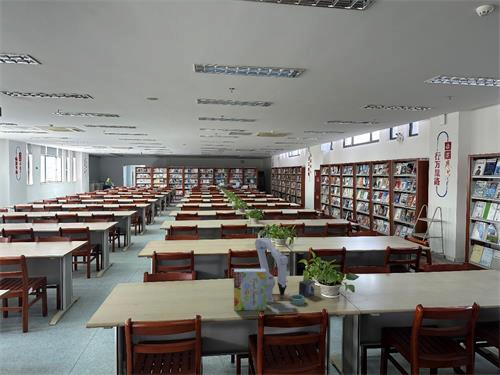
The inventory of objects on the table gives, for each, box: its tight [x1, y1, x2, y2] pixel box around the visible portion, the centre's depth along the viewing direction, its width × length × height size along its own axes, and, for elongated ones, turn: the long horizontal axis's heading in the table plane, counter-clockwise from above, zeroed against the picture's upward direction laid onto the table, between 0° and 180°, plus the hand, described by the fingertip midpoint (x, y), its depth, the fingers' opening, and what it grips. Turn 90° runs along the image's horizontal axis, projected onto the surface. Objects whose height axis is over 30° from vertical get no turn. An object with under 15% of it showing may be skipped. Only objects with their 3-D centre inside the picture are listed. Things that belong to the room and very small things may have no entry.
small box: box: [298, 279, 316, 298], centre depth 257 cm, size 11×6×10 cm, turn 126°
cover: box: [272, 293, 292, 302], centre depth 231 cm, size 12×12×4 cm
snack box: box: [233, 268, 267, 311], centre depth 231 cm, size 22×9×26 cm, turn 92°
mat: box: [269, 303, 294, 313], centre depth 231 cm, size 14×14×1 cm
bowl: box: [288, 294, 306, 306], centre depth 242 cm, size 10×10×4 cm
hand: (281, 294), depth 231 cm, fingers closed on cover, 2 cm apart
